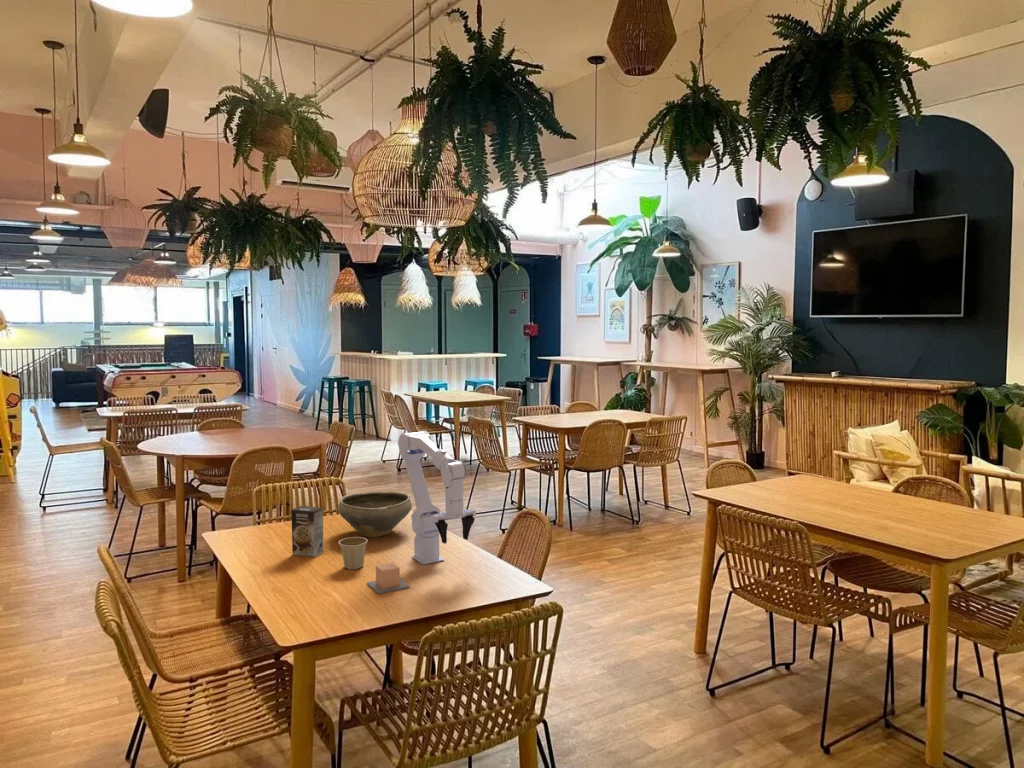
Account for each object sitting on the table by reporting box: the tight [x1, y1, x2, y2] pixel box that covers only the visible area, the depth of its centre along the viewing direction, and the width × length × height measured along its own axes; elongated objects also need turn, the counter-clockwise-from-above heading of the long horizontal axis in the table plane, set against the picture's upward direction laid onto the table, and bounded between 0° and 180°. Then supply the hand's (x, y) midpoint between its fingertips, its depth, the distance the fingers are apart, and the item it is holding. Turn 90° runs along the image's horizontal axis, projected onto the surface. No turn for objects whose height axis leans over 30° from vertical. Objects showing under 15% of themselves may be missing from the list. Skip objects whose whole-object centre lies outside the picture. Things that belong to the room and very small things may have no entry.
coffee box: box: [290, 505, 324, 558], centre depth 256 cm, size 9×6×16 cm
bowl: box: [337, 491, 413, 538], centre depth 280 cm, size 28×28×14 cm
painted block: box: [375, 562, 401, 589], centre depth 224 cm, size 6×6×6 cm
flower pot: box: [338, 536, 369, 570], centre depth 242 cm, size 9×9×9 cm
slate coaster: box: [366, 578, 410, 595], centre depth 224 cm, size 10×10×1 cm
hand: (454, 540), depth 235 cm, fingers open, 7 cm apart
